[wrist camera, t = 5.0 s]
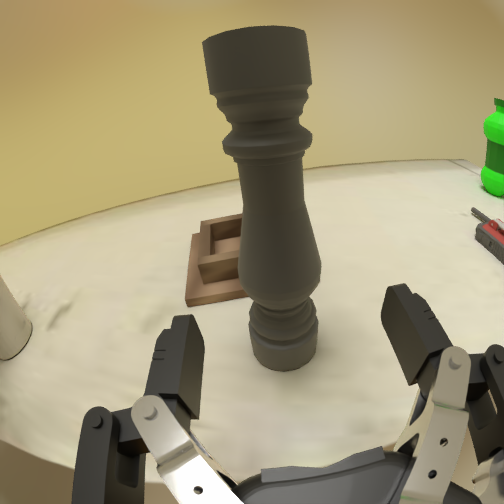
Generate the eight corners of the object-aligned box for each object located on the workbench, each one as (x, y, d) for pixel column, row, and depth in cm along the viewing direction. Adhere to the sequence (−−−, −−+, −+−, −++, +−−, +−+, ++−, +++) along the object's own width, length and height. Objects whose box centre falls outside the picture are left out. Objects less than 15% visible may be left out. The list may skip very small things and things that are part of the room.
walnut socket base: (187, 306, 32) (177, 279, 29) (194, 240, 45) (187, 218, 43) (319, 281, 32) (319, 253, 30) (288, 222, 45) (286, 199, 43)
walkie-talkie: (539, 270, 24) (473, 214, 40) (548, 248, 21) (477, 194, 38) (518, 283, 24) (447, 219, 40) (529, 258, 21) (451, 197, 38)
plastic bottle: (485, 196, 46) (493, 96, 32) (474, 182, 53) (479, 94, 40) (514, 203, 41) (524, 107, 28) (501, 188, 49) (508, 103, 35)
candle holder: (239, 345, 26) (177, 51, 12) (284, 311, 29) (258, 47, 15) (284, 383, 22) (245, 19, 8) (329, 341, 25) (333, 34, 11)
